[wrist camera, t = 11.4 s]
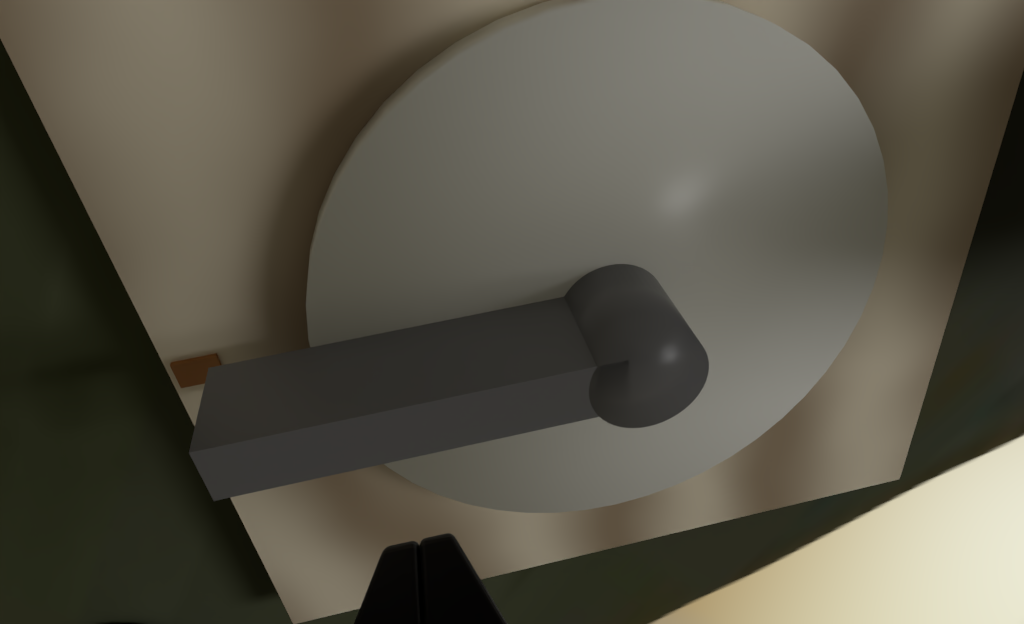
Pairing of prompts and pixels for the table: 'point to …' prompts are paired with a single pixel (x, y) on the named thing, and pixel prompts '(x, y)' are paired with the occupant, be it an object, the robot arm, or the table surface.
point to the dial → (570, 264)
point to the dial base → (324, 143)
